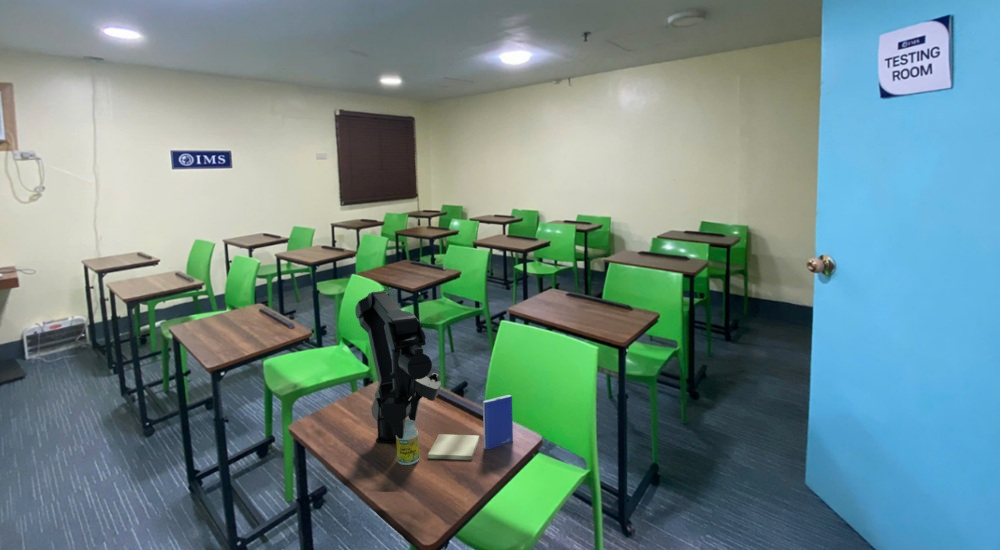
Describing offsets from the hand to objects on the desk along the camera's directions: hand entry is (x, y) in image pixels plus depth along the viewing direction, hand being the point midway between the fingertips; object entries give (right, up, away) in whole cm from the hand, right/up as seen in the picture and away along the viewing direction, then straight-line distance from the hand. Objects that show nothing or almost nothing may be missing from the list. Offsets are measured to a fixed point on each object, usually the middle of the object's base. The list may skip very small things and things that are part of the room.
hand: (407, 429), depth 114 cm
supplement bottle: (0, -8, +1) cm, 8 cm away
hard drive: (+22, -7, +8) cm, 25 cm away
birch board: (+11, -7, +6) cm, 15 cm away
